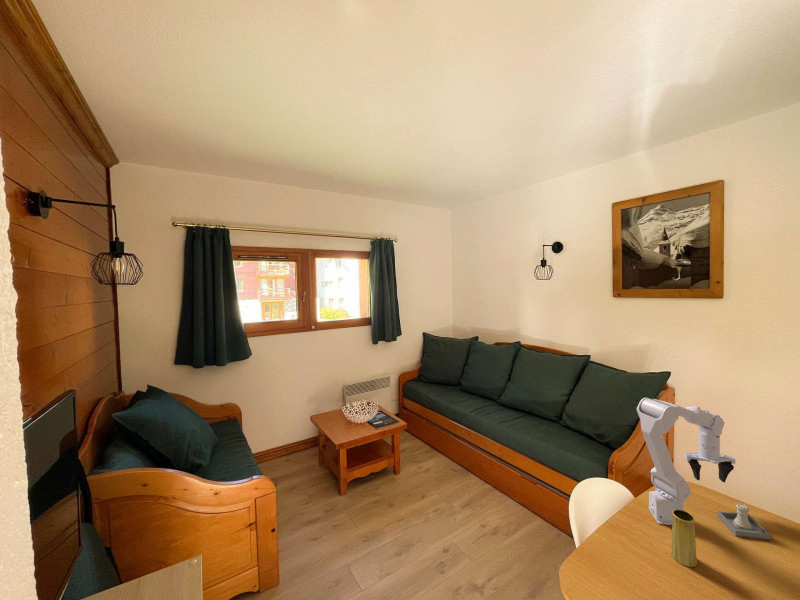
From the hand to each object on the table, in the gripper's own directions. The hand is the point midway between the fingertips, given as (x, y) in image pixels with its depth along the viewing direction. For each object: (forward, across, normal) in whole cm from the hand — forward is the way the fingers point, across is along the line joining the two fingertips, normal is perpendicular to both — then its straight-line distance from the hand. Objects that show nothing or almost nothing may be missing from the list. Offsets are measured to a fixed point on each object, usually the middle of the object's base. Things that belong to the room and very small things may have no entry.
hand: (709, 479), depth 121 cm
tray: (+10, +4, -10) cm, 15 cm away
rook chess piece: (+10, +3, -11) cm, 15 cm away
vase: (+10, -21, -28) cm, 36 cm away
